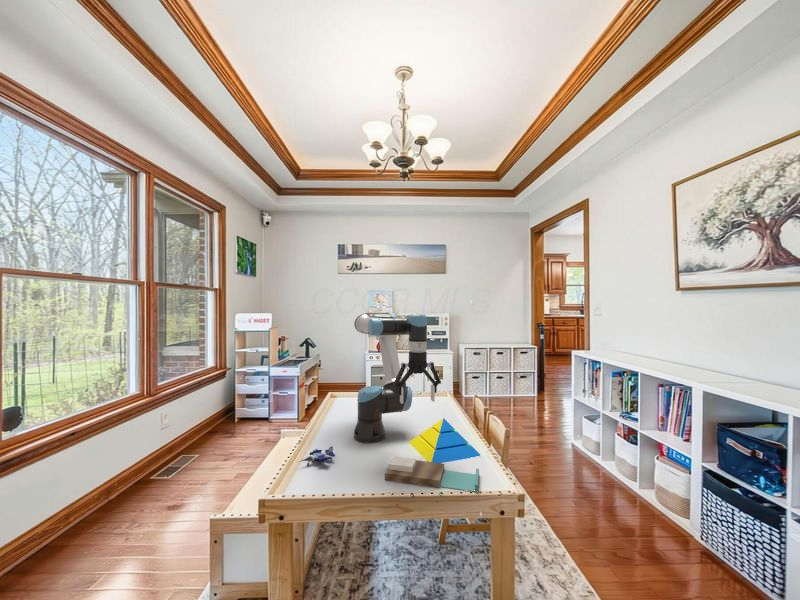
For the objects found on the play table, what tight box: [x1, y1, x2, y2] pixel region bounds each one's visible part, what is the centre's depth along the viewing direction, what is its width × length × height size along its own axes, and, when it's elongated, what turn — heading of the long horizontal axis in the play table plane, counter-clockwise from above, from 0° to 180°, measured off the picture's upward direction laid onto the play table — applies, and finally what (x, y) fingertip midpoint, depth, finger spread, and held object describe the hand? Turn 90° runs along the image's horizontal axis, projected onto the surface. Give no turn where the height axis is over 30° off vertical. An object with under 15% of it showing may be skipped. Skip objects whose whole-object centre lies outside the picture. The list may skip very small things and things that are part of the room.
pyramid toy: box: [408, 417, 481, 464], centre depth 152 cm, size 25×25×14 cm
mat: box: [440, 468, 480, 492], centre depth 125 cm, size 13×12×2 cm
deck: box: [384, 459, 445, 489], centre depth 129 cm, size 20×13×2 cm, turn 75°
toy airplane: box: [298, 445, 336, 467], centre depth 138 cm, size 13×14×4 cm
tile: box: [388, 455, 417, 472], centre depth 130 cm, size 9×7×2 cm
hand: (417, 401), depth 145 cm, fingers open, 13 cm apart
